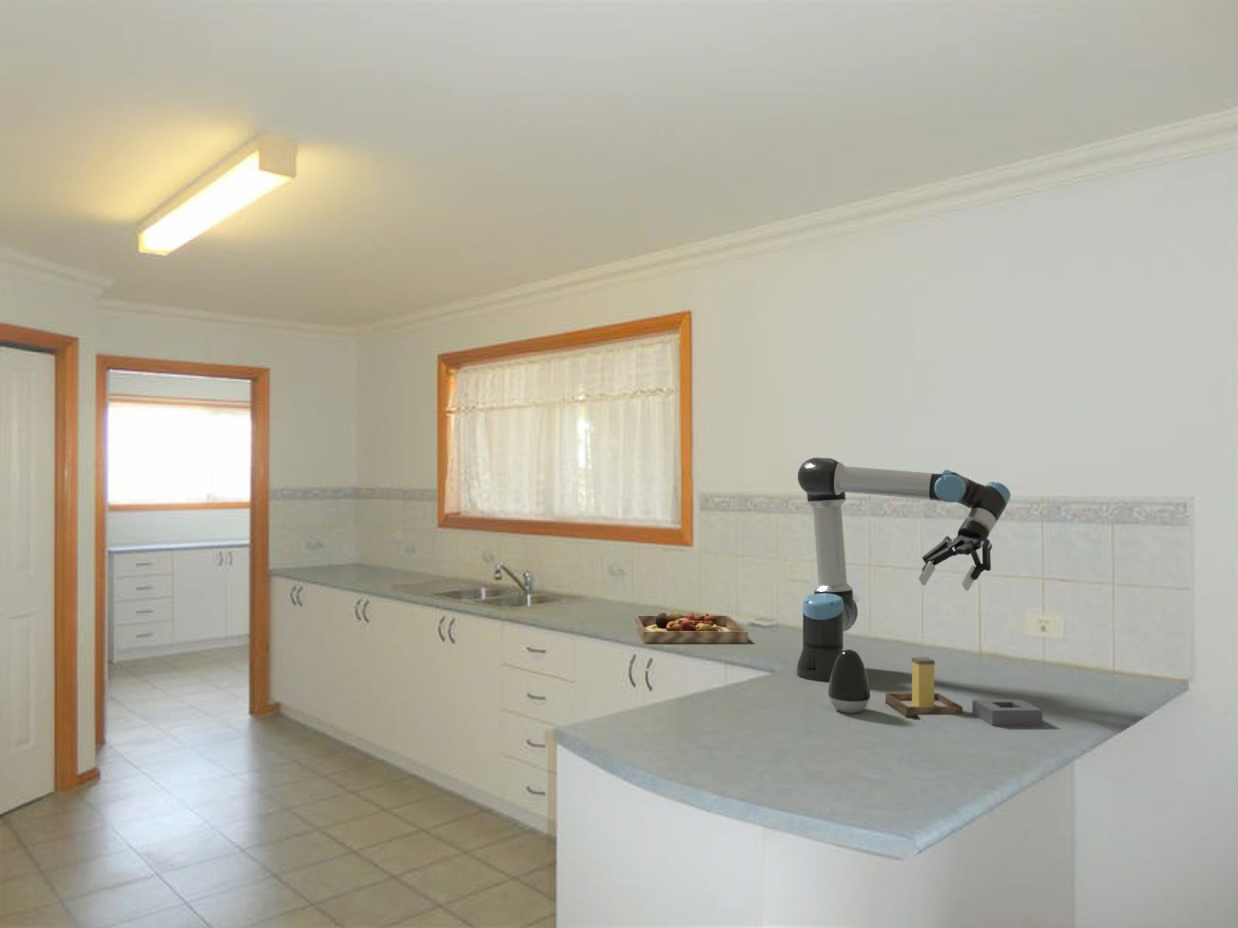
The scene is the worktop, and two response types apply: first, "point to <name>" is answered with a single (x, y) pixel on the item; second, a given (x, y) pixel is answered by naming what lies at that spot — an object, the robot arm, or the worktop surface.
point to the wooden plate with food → (685, 623)
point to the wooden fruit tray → (691, 632)
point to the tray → (911, 712)
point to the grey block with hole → (1007, 712)
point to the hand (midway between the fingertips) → (942, 584)
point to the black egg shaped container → (849, 683)
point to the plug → (922, 681)
